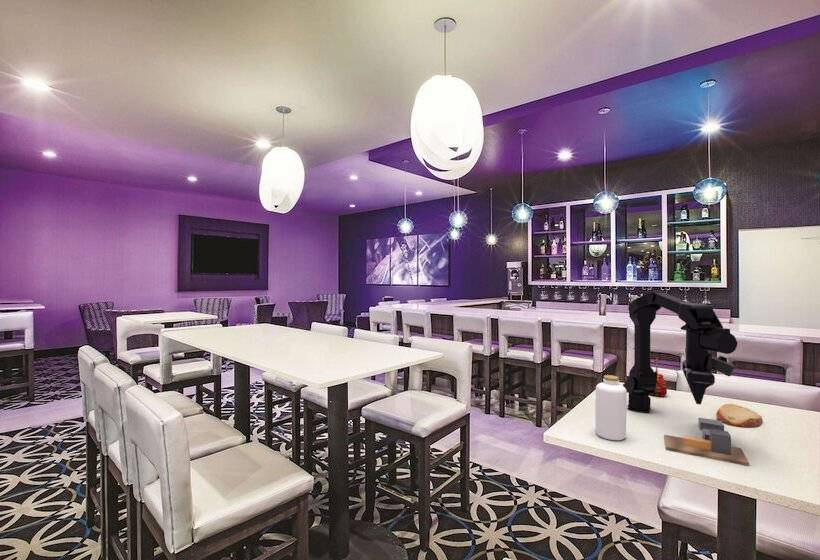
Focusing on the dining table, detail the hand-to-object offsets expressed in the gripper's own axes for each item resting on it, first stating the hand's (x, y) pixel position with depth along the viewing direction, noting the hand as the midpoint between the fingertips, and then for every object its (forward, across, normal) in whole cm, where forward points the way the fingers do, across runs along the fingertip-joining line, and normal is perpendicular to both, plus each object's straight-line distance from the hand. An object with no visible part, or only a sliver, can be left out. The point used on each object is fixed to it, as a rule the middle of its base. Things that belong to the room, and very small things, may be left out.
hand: (696, 399), depth 117 cm
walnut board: (+12, -8, -1) cm, 14 cm away
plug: (+11, -8, -2) cm, 14 cm away
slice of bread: (+13, +30, -14) cm, 36 cm away
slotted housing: (+12, +7, -5) cm, 15 cm away
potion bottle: (+12, -10, +22) cm, 27 cm away
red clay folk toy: (+12, +46, +9) cm, 48 cm away
